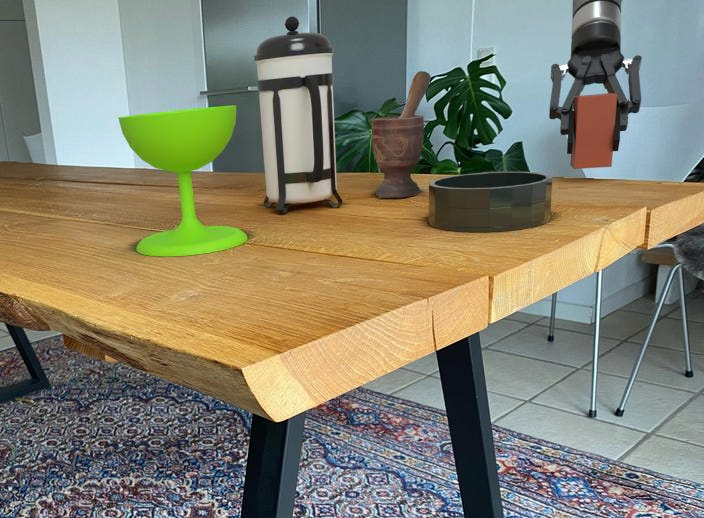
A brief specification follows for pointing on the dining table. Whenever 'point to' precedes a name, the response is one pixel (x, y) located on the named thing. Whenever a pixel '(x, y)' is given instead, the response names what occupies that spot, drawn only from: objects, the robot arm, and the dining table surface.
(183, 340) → the dining table surface
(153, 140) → the wineglass
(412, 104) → the mortar and pestle
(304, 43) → the coffee press
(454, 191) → the bowl
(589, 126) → the block
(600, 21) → the robot arm
